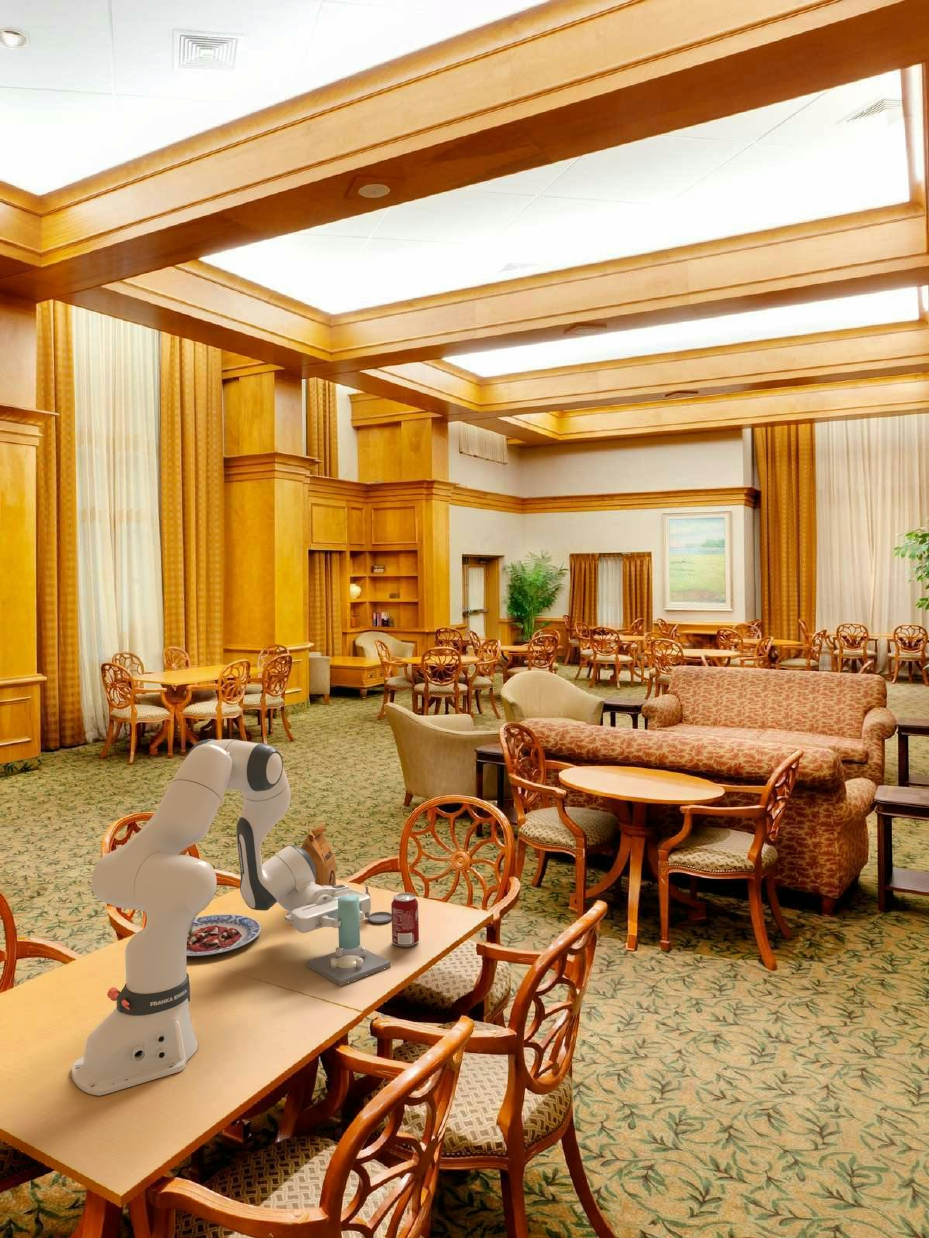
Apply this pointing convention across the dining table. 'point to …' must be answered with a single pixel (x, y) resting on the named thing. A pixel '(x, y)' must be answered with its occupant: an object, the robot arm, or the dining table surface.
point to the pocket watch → (377, 914)
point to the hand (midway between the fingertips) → (350, 920)
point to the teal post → (349, 922)
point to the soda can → (405, 920)
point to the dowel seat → (348, 964)
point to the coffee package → (321, 856)
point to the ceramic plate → (220, 933)
